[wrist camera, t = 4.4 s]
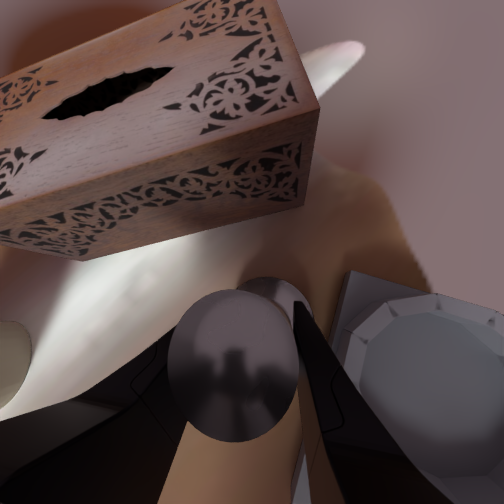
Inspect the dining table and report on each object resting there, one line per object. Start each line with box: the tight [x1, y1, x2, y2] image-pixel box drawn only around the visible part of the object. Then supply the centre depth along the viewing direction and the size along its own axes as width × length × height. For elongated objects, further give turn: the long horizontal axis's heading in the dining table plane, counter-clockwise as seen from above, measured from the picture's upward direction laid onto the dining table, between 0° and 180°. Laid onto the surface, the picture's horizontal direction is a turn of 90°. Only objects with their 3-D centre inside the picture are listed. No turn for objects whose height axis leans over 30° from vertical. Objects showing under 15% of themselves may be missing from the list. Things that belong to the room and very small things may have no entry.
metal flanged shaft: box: [167, 277, 314, 442], centre depth 10 cm, size 7×7×11 cm
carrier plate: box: [291, 270, 504, 504], centre depth 11 cm, size 16×12×4 cm
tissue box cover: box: [0, 0, 320, 261], centre depth 18 cm, size 26×14×10 cm, turn 101°
